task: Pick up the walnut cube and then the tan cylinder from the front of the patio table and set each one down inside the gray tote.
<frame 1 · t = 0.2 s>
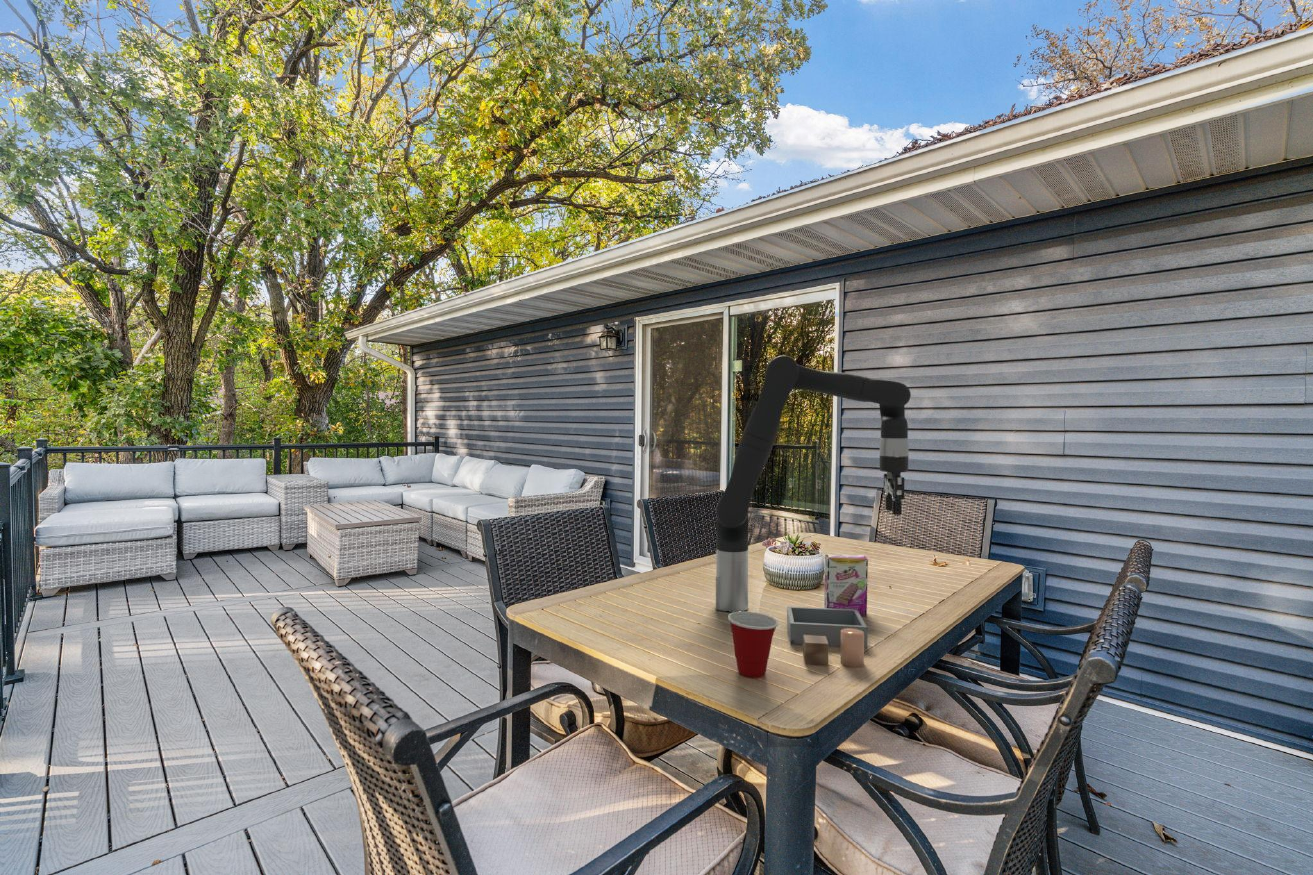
hand: (893, 512, 168), 29 cm above the table, tool pointing down, fingers open, 8 cm apart
plastic cup: (752, 673, 130), on the table
gray tote: (824, 635, 153), on the table
walnut cube: (815, 661, 136), on the table
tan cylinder: (852, 662, 135), on the table
candy bar box: (845, 614, 171), on the table
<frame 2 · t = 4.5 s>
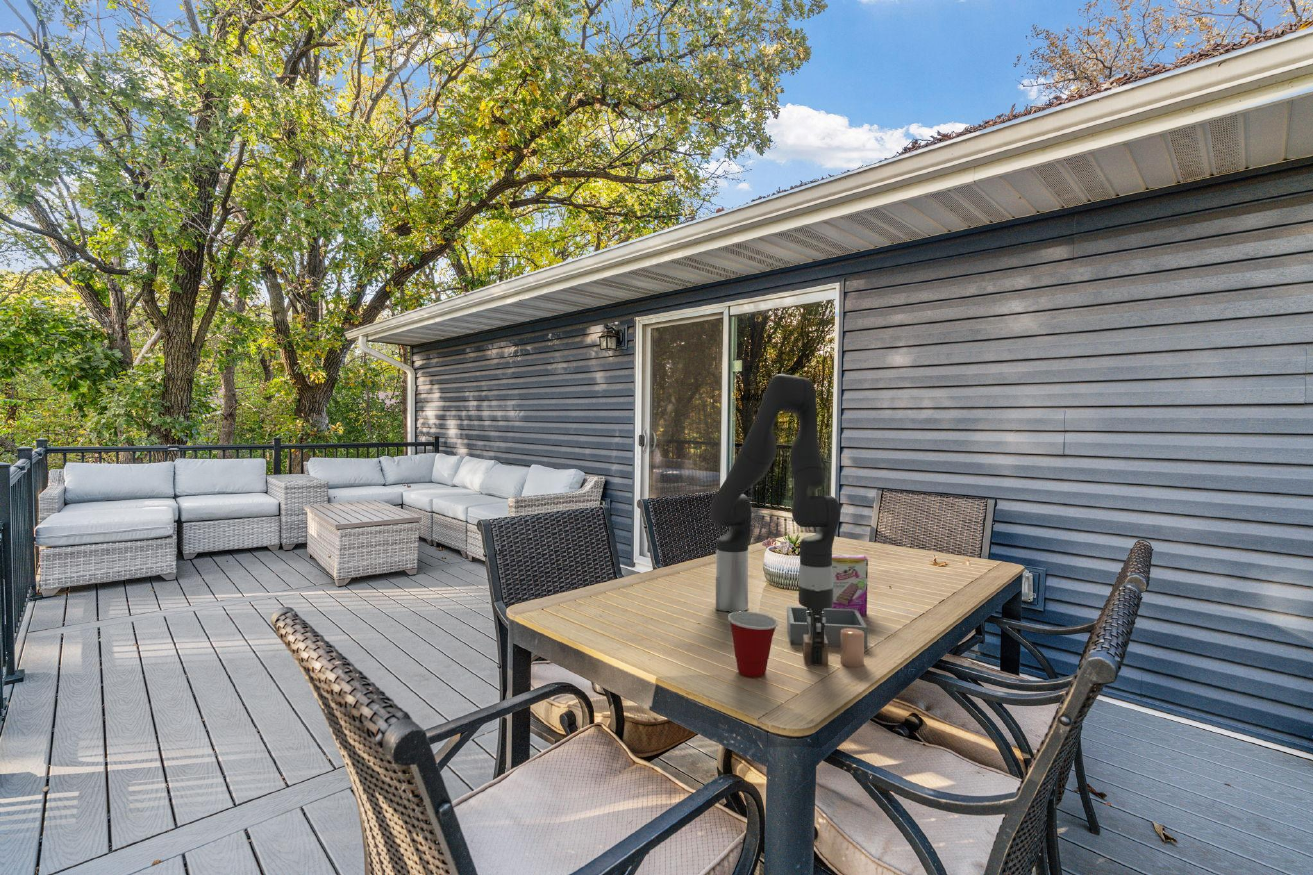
hand: (815, 658, 136), 0 cm above the table, tool pointing down, fingers closed on walnut cube, 5 cm apart
walnut cube: (815, 660, 136), on the table, touching gripper
everything else where it was.
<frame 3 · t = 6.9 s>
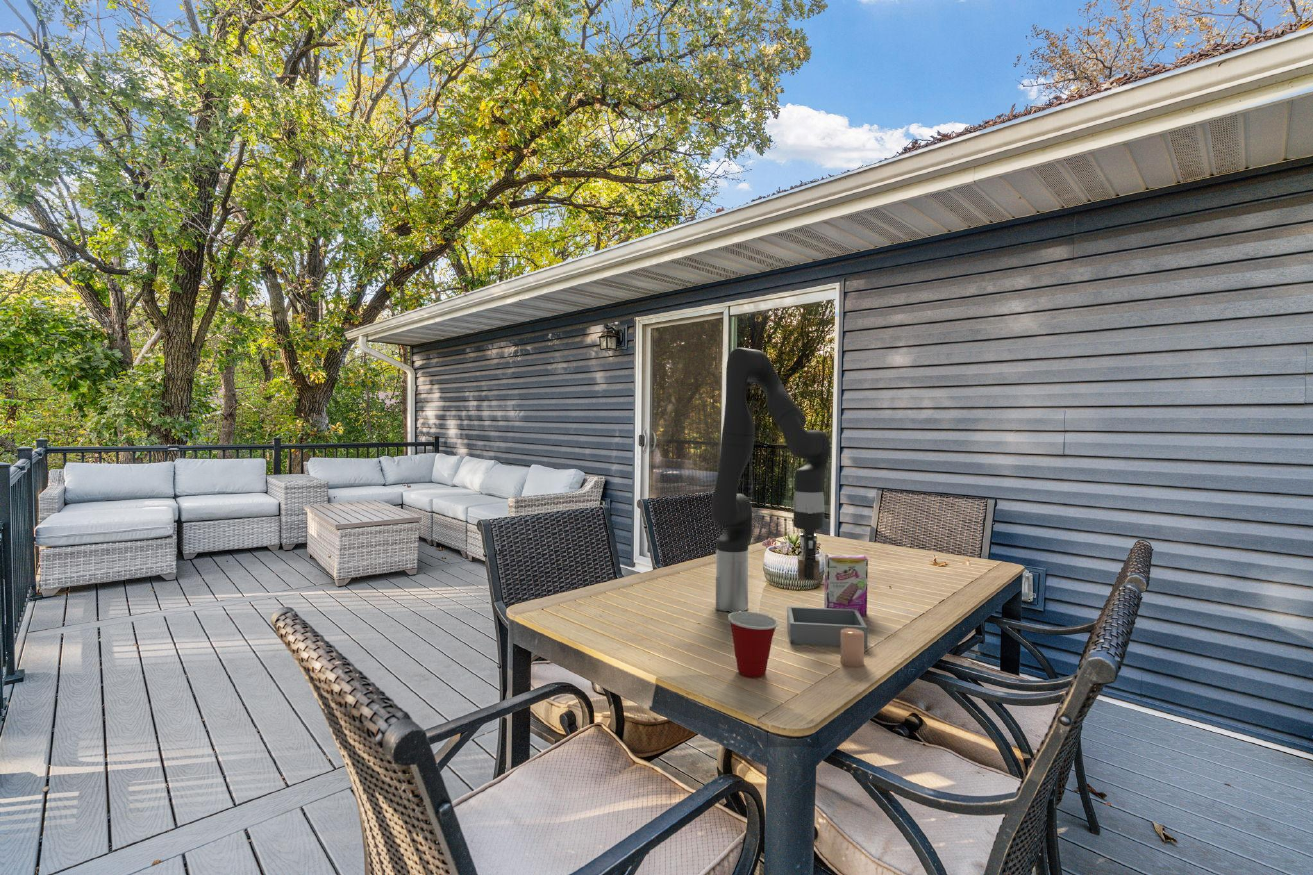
hand: (808, 575, 153), 15 cm above the table, tool pointing down, fingers closed on walnut cube, 5 cm apart
walnut cube: (808, 577, 153), point 15 cm above the table, touching gripper
everything else where it was.
when the fingers open (4 cm above the table, at t = 9.5 s): walnut cube drops 2 cm, resting on gray tote.
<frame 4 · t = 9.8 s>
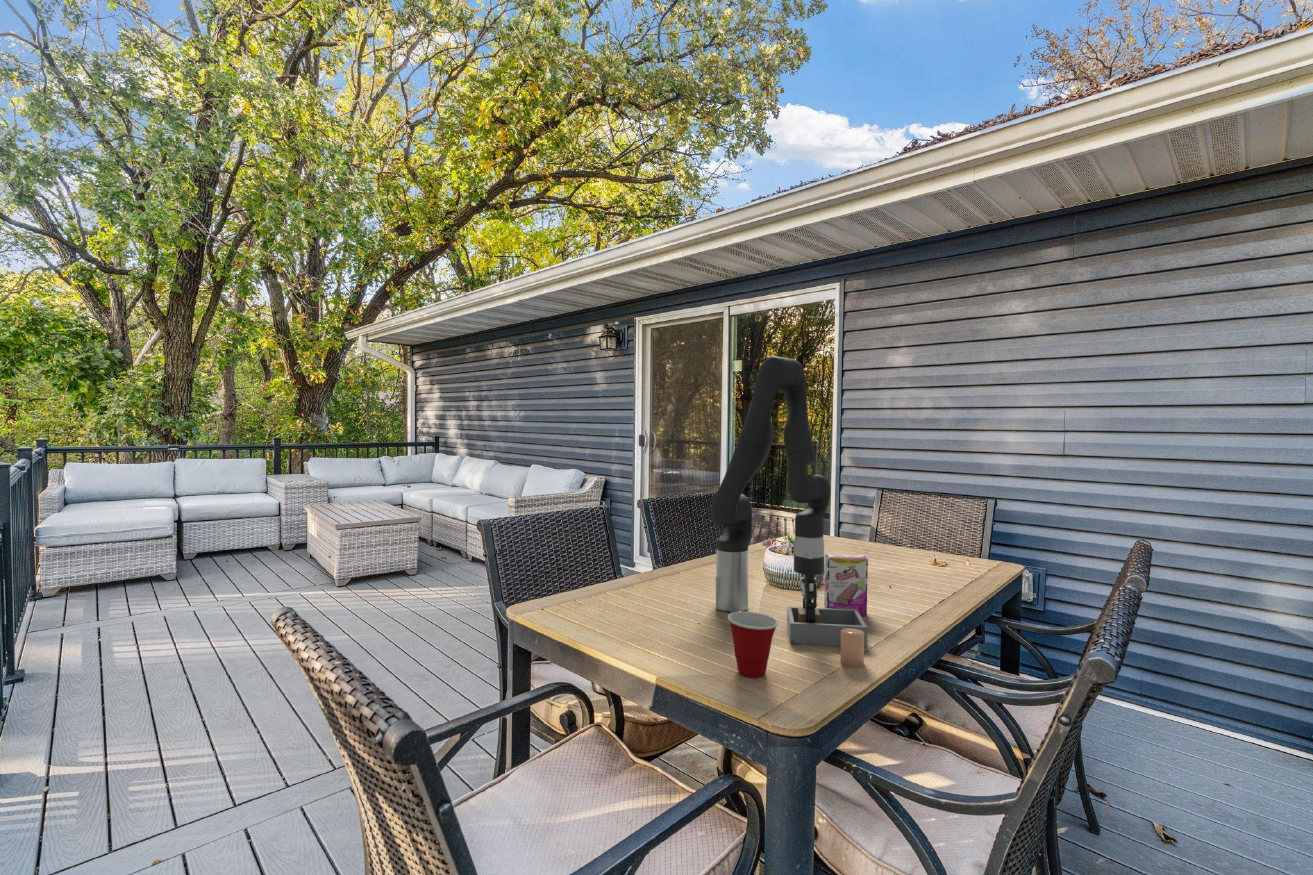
hand: (808, 617, 153), 5 cm above the table, tool pointing down, fingers open, 8 cm apart
walnut cube: (808, 630, 153), point 1 cm above the table, touching gray tote
everything else where it was.
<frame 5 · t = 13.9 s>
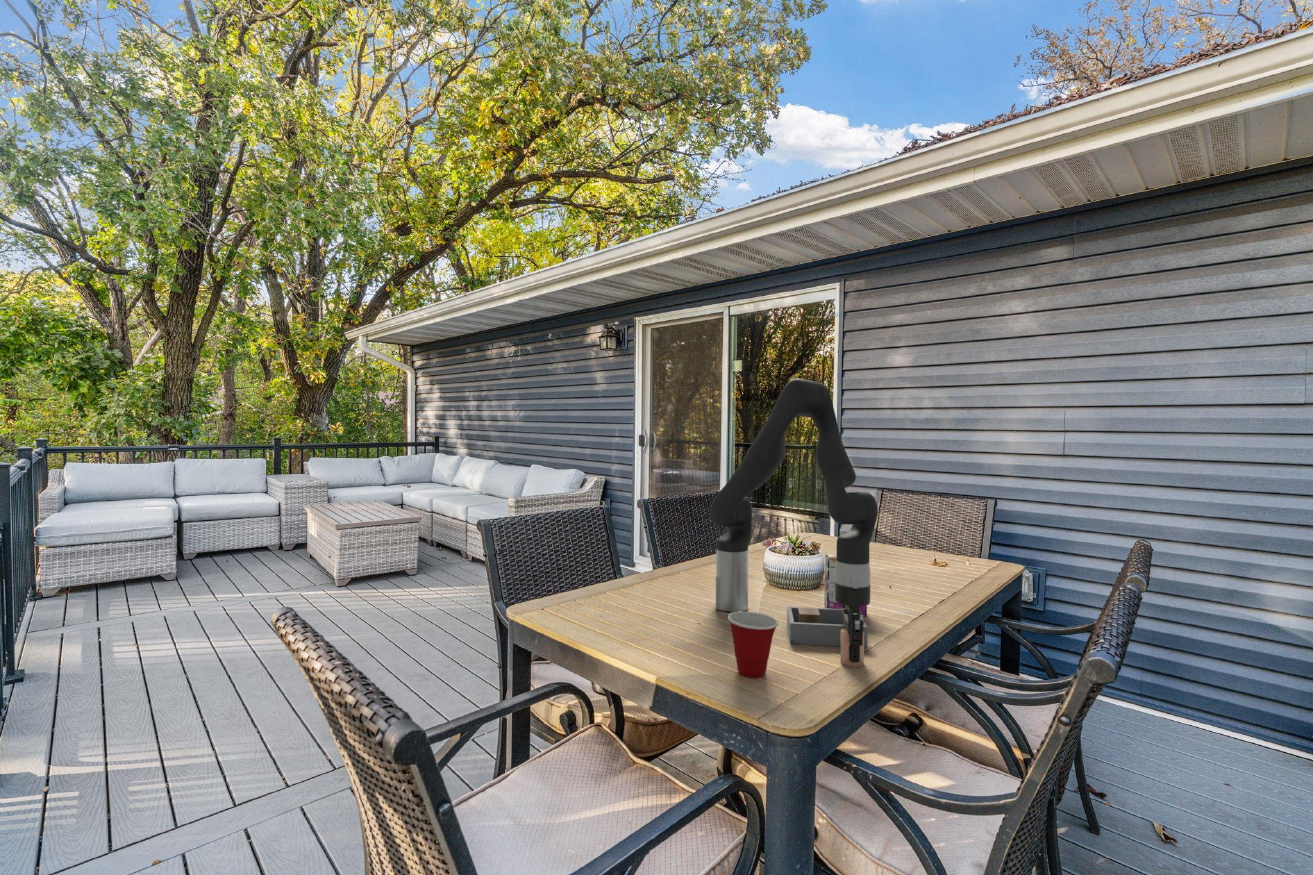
hand: (852, 656, 135), 1 cm above the table, tool pointing down, fingers closed on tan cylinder, 5 cm apart
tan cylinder: (852, 662, 135), on the table, touching gripper
everything else where it was.
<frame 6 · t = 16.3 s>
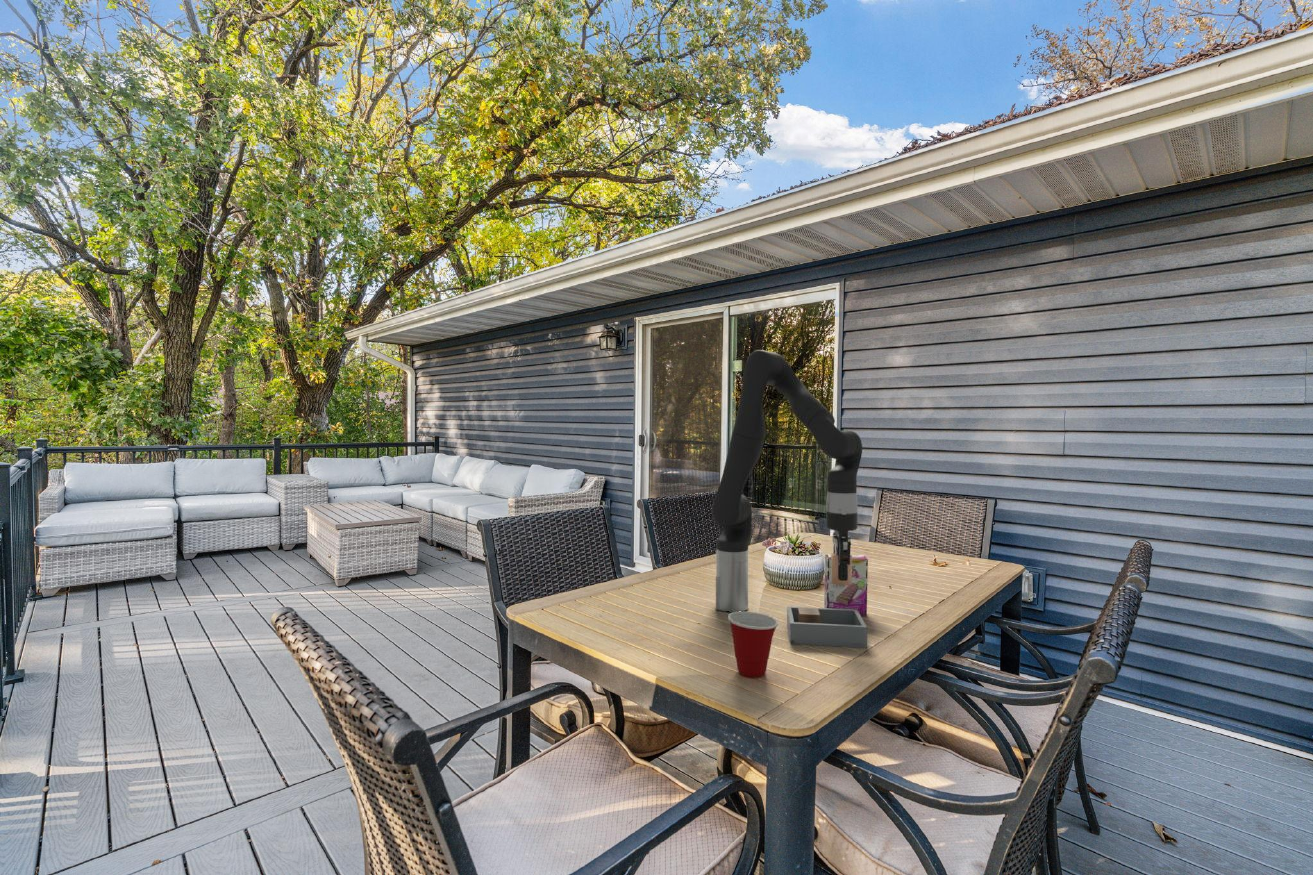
hand: (841, 577, 152), 15 cm above the table, tool pointing down, fingers closed on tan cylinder, 5 cm apart
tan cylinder: (841, 582, 152), point 14 cm above the table, touching gripper
everything else where it was.
when the fingers open (4 cm above the table, at t = 18.7 s): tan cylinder drops 2 cm, resting on gray tote.
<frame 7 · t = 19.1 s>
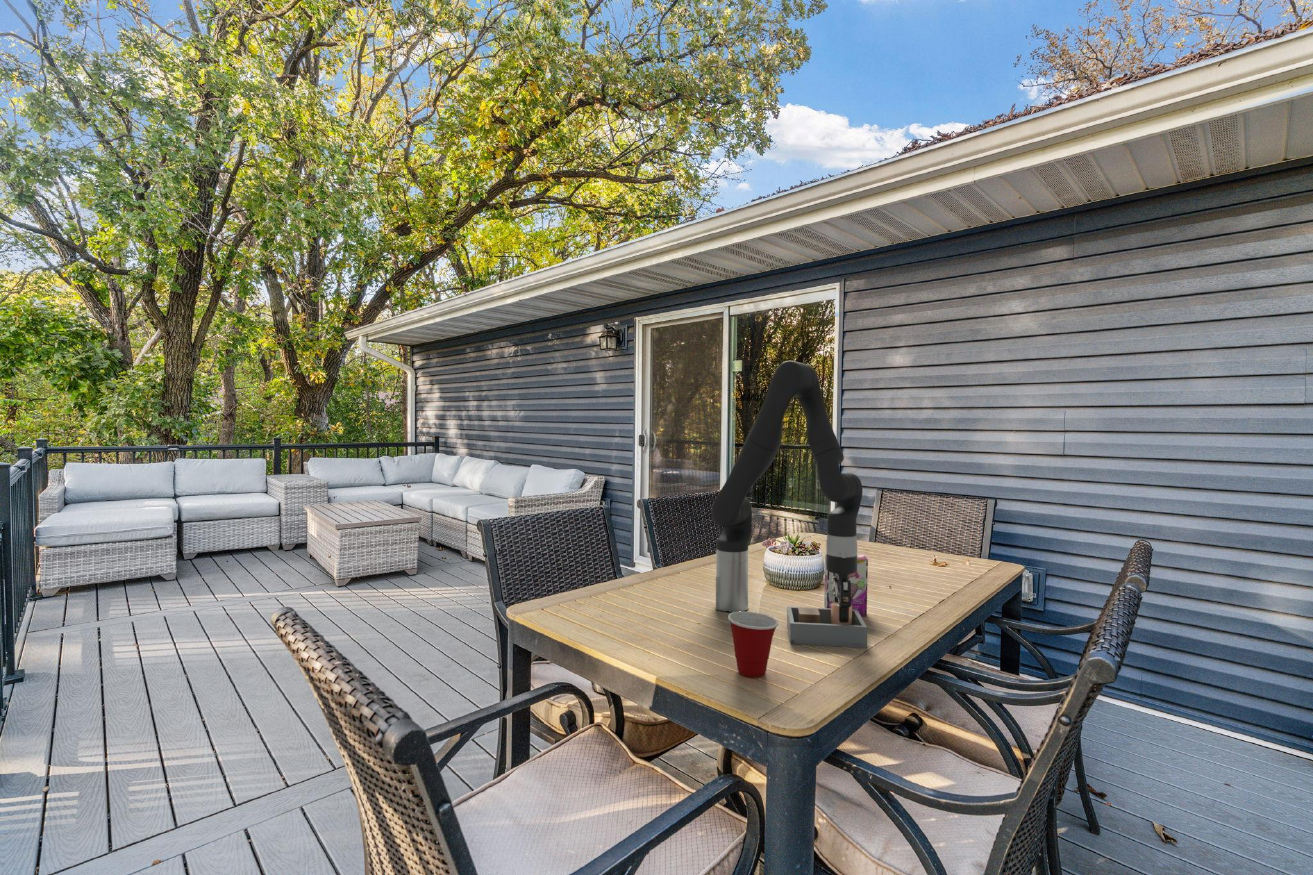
hand: (841, 616, 152), 5 cm above the table, tool pointing down, fingers open, 8 cm apart
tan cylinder: (841, 632, 152), point 1 cm above the table, touching gray tote
everything else where it was.
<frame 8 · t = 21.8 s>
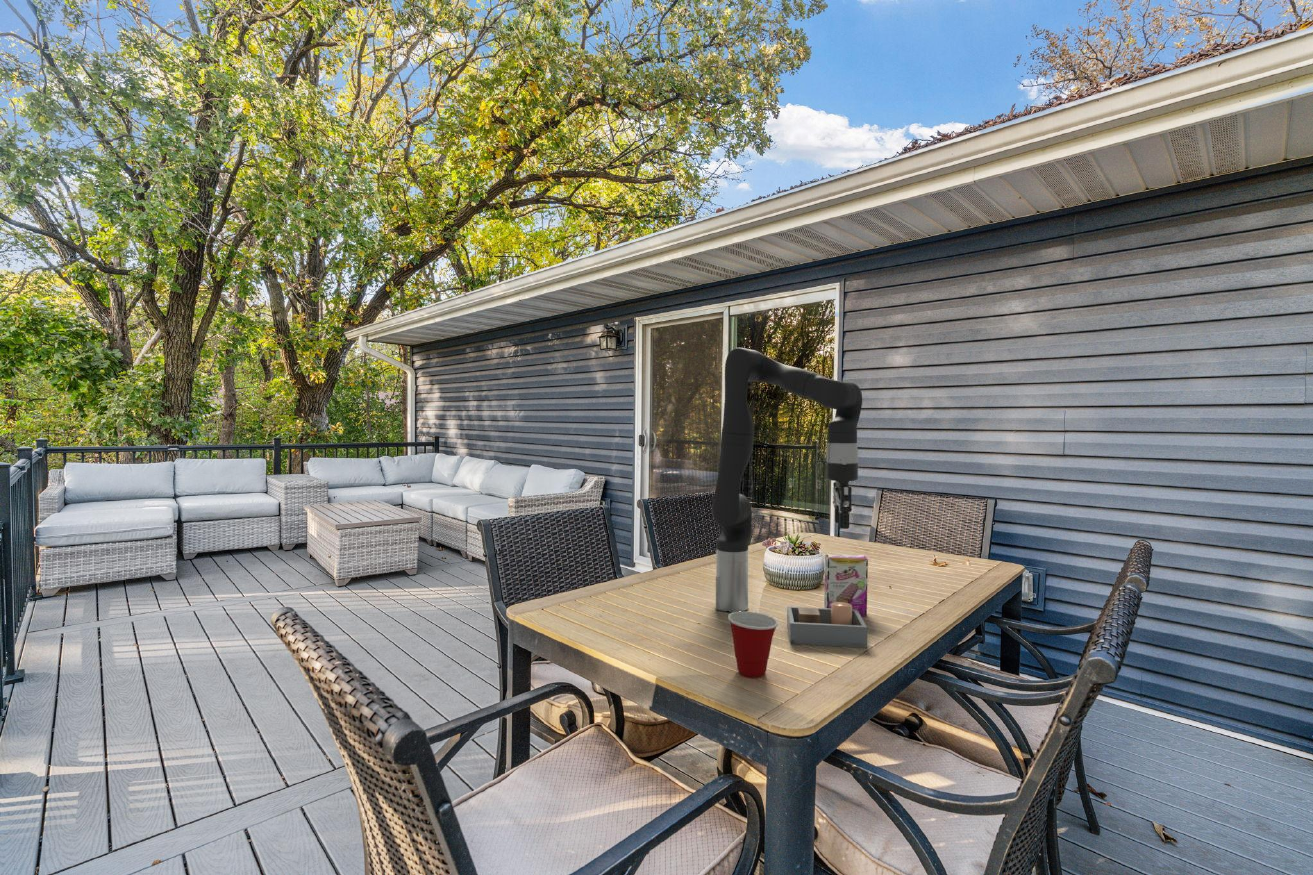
hand: (841, 525, 151), 28 cm above the table, tool pointing down, fingers open, 8 cm apart
nothing on the table moved.
at the end: walnut cube inside the target area on the gray tote (3.9 cm from its centre), point 1.0 cm above the gray tote's base; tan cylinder inside the target area on the gray tote (4.0 cm from its centre), point 1.0 cm above the gray tote's base; the gripper is holding nothing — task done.
